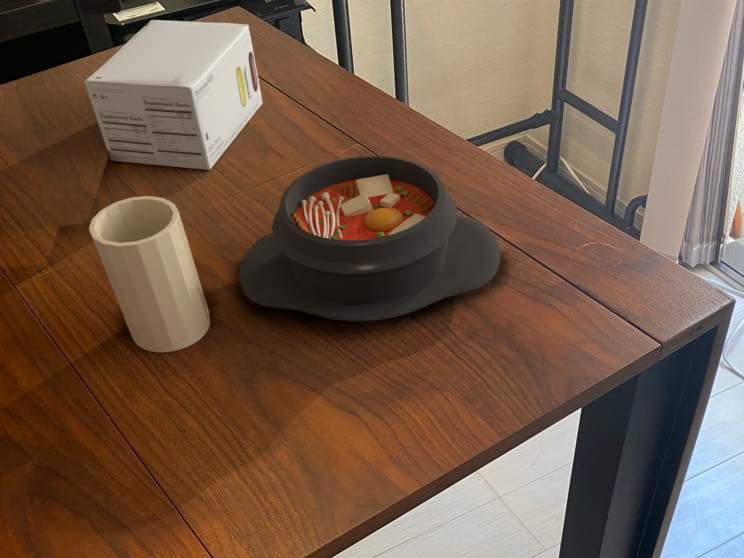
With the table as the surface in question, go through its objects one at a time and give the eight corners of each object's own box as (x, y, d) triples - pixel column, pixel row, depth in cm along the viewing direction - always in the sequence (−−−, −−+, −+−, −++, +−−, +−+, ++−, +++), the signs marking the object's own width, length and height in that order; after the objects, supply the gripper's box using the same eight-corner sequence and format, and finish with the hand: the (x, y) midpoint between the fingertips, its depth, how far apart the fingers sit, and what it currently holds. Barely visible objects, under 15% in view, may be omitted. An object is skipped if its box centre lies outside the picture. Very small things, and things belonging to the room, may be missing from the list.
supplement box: (212, 172, 96) (191, 87, 88) (110, 163, 98) (81, 80, 91) (265, 102, 105) (250, 21, 98) (171, 96, 108) (149, 16, 101)
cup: (126, 356, 76) (82, 249, 68) (137, 306, 81) (97, 200, 72) (207, 348, 76) (172, 241, 68) (213, 299, 81) (182, 192, 72)
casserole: (236, 349, 76) (213, 269, 69) (249, 234, 87) (231, 155, 81) (511, 326, 75) (515, 243, 69) (489, 213, 87) (490, 133, 80)
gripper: (-24, -330, 58) (76, -24, 72) (-93, -290, 48) (38, 53, 63) (84, -341, 57) (163, -32, 72) (37, -303, 48) (138, 44, 62)
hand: (104, 6), depth 67 cm, fingers closed
